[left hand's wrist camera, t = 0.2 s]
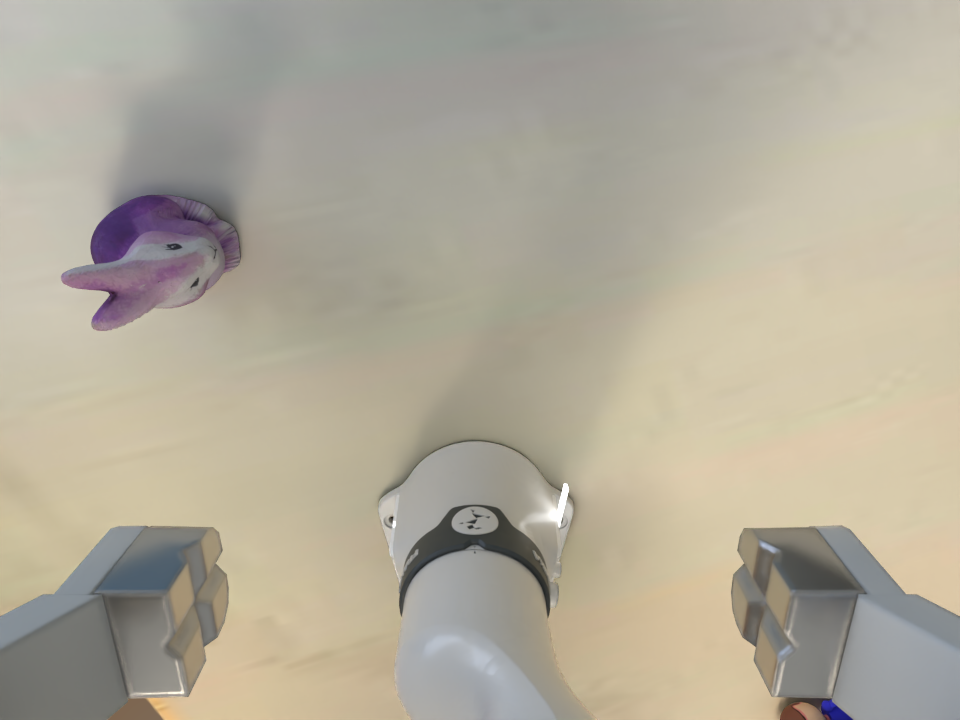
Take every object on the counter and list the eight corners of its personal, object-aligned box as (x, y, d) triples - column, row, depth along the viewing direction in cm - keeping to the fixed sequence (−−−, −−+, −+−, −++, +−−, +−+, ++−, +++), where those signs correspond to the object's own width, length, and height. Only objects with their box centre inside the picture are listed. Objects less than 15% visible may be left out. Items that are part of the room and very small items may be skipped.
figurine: (270, 237, 56) (201, 285, 42) (193, 318, 59) (104, 388, 45) (179, 151, 54) (73, 171, 40) (103, 239, 56) (-21, 287, 43)
